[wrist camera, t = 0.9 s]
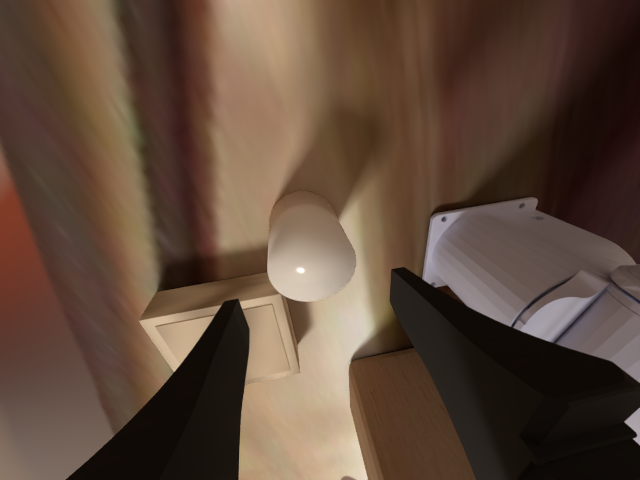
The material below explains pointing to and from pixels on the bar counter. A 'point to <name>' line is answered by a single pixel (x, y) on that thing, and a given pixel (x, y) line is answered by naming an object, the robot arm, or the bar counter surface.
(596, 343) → the robot arm
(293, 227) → the white rounded cylinder
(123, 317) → the bar counter surface
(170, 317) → the base
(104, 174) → the bar counter surface
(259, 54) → the bar counter surface
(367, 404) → the wooden block
